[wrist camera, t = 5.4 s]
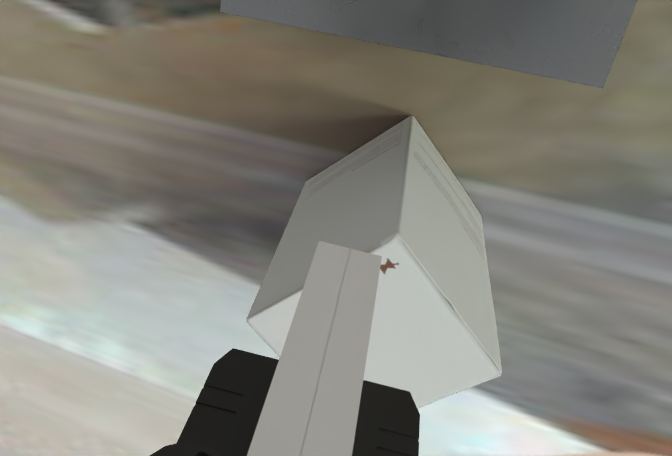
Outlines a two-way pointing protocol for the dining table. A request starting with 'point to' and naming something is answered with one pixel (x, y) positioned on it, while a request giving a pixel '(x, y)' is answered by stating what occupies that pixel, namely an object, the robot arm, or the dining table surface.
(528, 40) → the block
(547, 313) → the dining table surface
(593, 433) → the dining table surface
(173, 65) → the dining table surface
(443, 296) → the supplement box
